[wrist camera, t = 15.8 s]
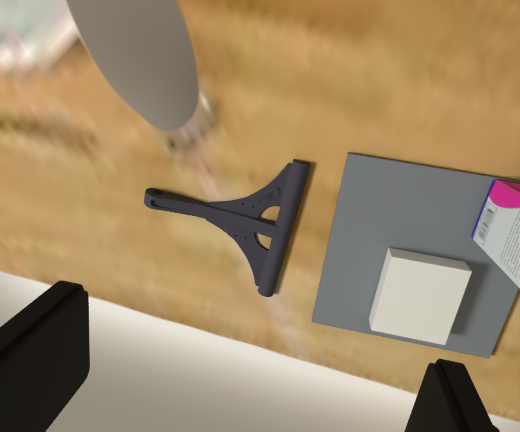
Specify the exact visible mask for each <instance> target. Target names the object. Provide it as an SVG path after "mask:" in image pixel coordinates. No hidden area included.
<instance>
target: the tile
mask: <svg viewBox="0 0 520 432" xmlns="http://www.w3.org/2000/svg"><path fill="white" fill-rule="evenodd" d="M471 273H472V271H471V270H470V268H469V267H468V266H467V264H466V263H465V262H464V261H459V260H453V259H448V258H442V257H437V256H432V255H426V254H421V253H415V252H410V251H404V250H399V249H394V248H388V251H387V255H386V258H385V262H384V265H383V269H382V273H381V276H380V280H379V284H378V287H377V291H376V294H375V298H374V302H373V305H372V309H371V312H370V316H369V322H370V328H371V330H373V331H378V332H383V333H387V334H392V335H397V336H402V337H407V338H412V339H417V340H422V341H427V342H432V343H436V344H441V345H445V344H446V341H447V338H448V335H449V333H450V330H451V327H452V324H453V322H454V319H455V316H456V314H457V311H458V308H459V305H460V303H461V300H462V297H463V294H464V292H465V289H466V286H467V284H468V281H469V278H470V275H471Z"/></svg>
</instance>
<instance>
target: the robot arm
mask: <svg viewBox="0 0 520 432" xmlns="http://www.w3.org/2000/svg"><path fill="white" fill-rule="evenodd" d="M88 304H89V303H88V292H87V291H84V288H83V286H82V285H81V284H77V283H72V282H67V281H58V282H57V283H55V284H54V285H53V286H52V287H50V288H49V289H48V290H47V291H45V292H44V293H43V294H42V295H40V296H39V297H38V298H37V299H35V300H34V301H33V302H32V303H30V304H29V305H28V306H27V307H25V308H24V309H23V310H21V311H20V312H19V313H18V314H16V315H15V316H14V317H13V318H11V319H10V320H9V321H8V322H6V323H5V324H4V325H3V326H1V327H0V432H46V430H47V429H48V428H49V426H50V425H51V424H52V423H53V421H54V420H55V419H56V417H57V416H58V415H59V413H60V412H61V411H62V410H63V408H64V407H65V406H66V404H67V403H68V402H69V401H70V399H71V398H72V397H73V395H74V394H75V393H76V391H77V390H78V389H79V388H80V386H81V385H82V384H83V382H84V381H85V379H86V378H87V376H88V373H89V368H90V357H89V355H90V354H89V305H88ZM405 432H500V431H499V430H498V428H496V427H495V426H494V425H492V422H491V420H490V418H489V416H488V414H487V412H486V410H485V407H484V405H483V403H482V401H481V399H480V397H479V395H478V393H477V390H476V388H475V386H474V384H473V382H472V380H471V378H470V376H469V373H468V371H467V369H466V367H465V366H464V364H462V363H458V362H453V361H448V360H444V359H438V360H437V361H436V363H430V364H429V365H428V367H427V370H426V373H425V375H424V378H423V381H422V384H421V387H420V390H419V392H418V395H417V398H416V401H415V404H414V406H413V409H412V412H411V415H410V418H409V420H408V423H407V426H406V429H405Z"/></svg>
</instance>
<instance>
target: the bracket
mask: <svg viewBox="0 0 520 432" xmlns="http://www.w3.org/2000/svg"><path fill="white" fill-rule="evenodd" d="M309 168H310V163H306V164H302V163H298V162H297V161H296V160H295V159H293V162H292V164H291V163H288V164H287V165H286V167H285V168H284V169H283V170H282V171H281V172H280V174H279V175H278V176H277V177H276V178H275V179H274V180H273V181H272V182H270V183H269V184H268V185H267V186H265V187H264V188H262V189H261V190H259V191H257V192H256V193H254V194H252V195H250V196H248V197H245V198H241V199H237V200H233V201H225V202H210V203H209V204H207V203H204V202H200V201H196V200H193V199H189V198H185V197H182V196H178V195H175V194H171V193H167V192H164V191H160V190H157V189H153V188H148V189H146V191H145V198H144V204H145V205H146V206H147V207H149V208H151V209H156V210H163V211H169V212H175V213H180V214H186V215H192V216H196V217H201V218H205V219H206V220H207V221H209V222H210V223H212V224H214V225H216V226H217V227H219V228H220V229H222V230H223V231H224V232H226V233H227V234H228V235H229V236H231V237H232V238H233V239H234V240H235V241H236V242H237V244H238V245H239V247H240V248H241V249H242V251H243V252H244V254H245V256H246V257H247V259H248V261H249V264H250V266H251V269H252V272H253V275H254V279H255V284H256V286H259V288H258V292H259V293H260V294H261V295H262V296H265V297H271V296H272V295H273V293H274V289H275V286H276V282H277V279H278V275H279V272H280V268H281V265H282V261H283V258H284V255H285V251H286V248H287V244H288V241H289V237H290V234H291V230H292V227H293V223H294V220H295V216H296V213H297V209H298V206H299V202H300V199H301V195H302V192H303V188H304V185H305V181H306V178H307V174H308V171H309ZM243 203H244V204H243ZM253 206H254V207H253ZM270 206H280V211H279V215H278V218H277V221H269V220H265V219H261V218H258V217H259V214H260V213H261V212H262V211H263V210H264V209H265V208H267V207H270ZM255 232H256V233H259V234H262V235H265V236H268V237H271V238H272V240H271V244H270V248H269V250H268V249H265V248H264V247H262V246H261V245H260V244H259V243H258V242H257V240H256V237H255ZM235 234H236V235H235ZM246 237H247V238H246Z"/></svg>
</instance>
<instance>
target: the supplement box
mask: <svg viewBox="0 0 520 432" xmlns="http://www.w3.org/2000/svg"><path fill="white" fill-rule="evenodd" d="M471 238H472V239H473V240H474V241H475V242H476V243H477V244H478V245H479V246H480V247H481V248H482V249H483V250H484V251H485V252H486V253H487V255H488V256H489V257H490V258H491V259H492V260H493V261H494V262H495V263H496V264H497V265H498V266H499V267H500V268H501V269H502V270H503V271H504V272H505V273H506V274H507V275H508V277H509V278H510V279H511V280H512V281H513V282H514V283H515V284H516V285H517V286H518V287H519V288H520V183H515V182H510V181H505V180H499V179H493V181H492V183H491V186H490V188H489V191H488V193H487V196H486V198H485V201H484V203H483V206H482V209H481V211H480V214H479V216H478V219H477V221H476V224H475V227H474V229H473V232H472V234H471Z"/></svg>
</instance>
